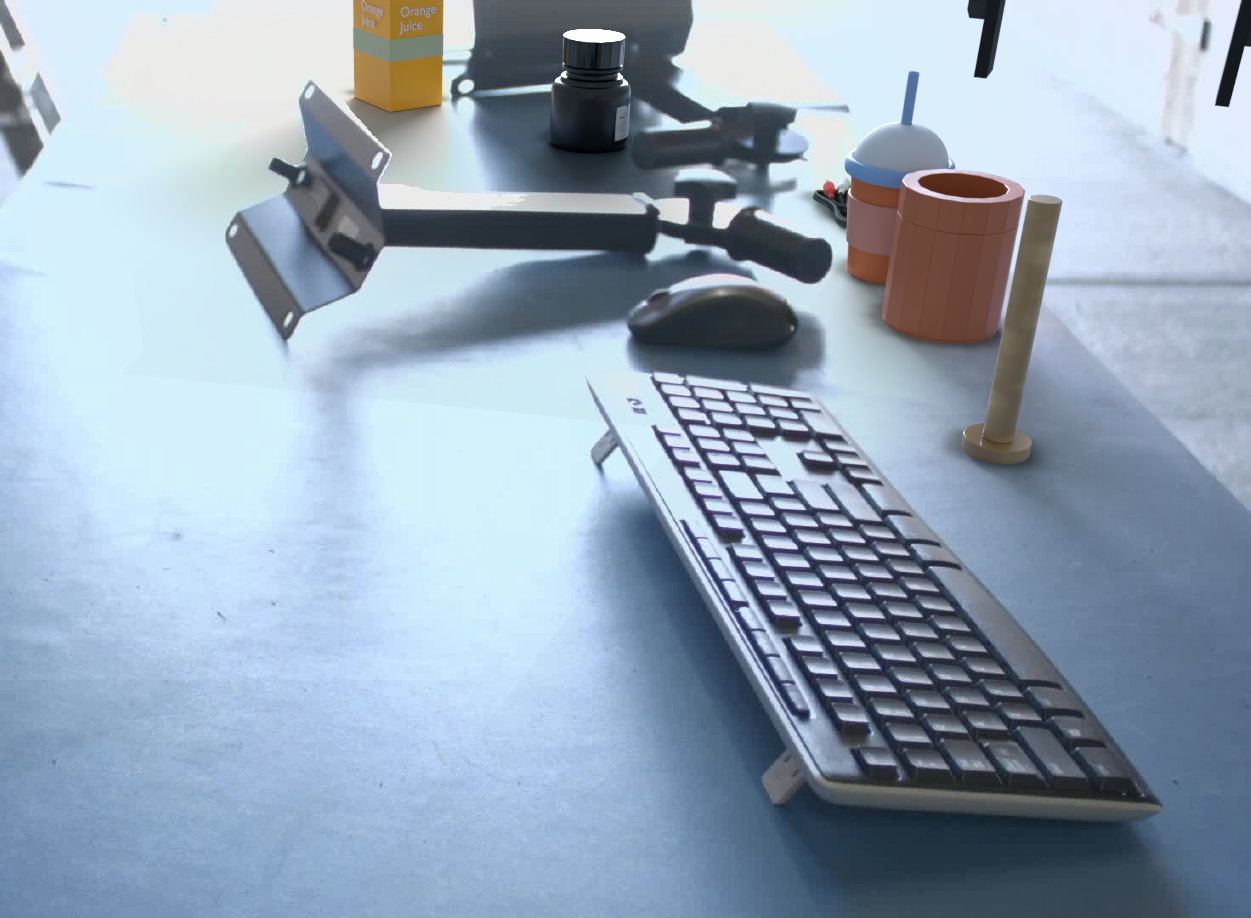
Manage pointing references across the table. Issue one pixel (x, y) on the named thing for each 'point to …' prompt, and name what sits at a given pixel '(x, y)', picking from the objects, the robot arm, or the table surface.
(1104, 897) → the table surface
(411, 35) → the orange juice
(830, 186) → the composite cable
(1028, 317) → the brass-colored tamper
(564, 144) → the ink bottle
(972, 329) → the jar
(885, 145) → the cup with straw
